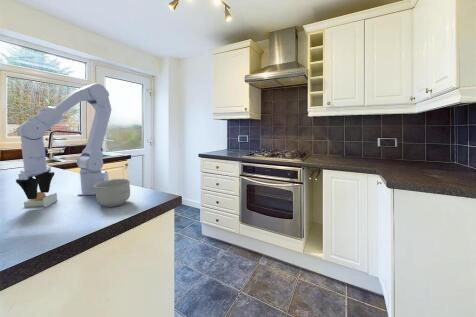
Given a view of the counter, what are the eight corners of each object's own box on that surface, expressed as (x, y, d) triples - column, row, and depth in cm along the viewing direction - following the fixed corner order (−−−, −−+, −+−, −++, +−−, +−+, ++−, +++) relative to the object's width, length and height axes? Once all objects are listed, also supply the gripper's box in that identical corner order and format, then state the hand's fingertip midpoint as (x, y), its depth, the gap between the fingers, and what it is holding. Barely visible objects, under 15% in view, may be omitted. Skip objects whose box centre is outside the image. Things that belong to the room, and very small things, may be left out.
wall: (57, 200, 80) (56, 192, 80) (46, 206, 74) (45, 198, 73) (54, 200, 80) (53, 192, 80) (43, 206, 73) (42, 198, 73)
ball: (48, 200, 79) (47, 190, 79) (42, 203, 75) (41, 193, 75) (36, 201, 78) (35, 191, 78) (30, 204, 74) (29, 193, 74)
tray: (53, 200, 80) (53, 195, 80) (45, 205, 75) (44, 200, 75) (34, 201, 79) (34, 197, 78) (24, 207, 73) (23, 202, 73)
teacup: (127, 207, 74) (126, 184, 72) (90, 210, 70) (88, 186, 69) (134, 195, 87) (133, 176, 86) (103, 197, 84) (102, 177, 83)
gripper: (33, 155, 80) (37, 190, 82) (4, 160, 67) (9, 203, 68) (55, 154, 82) (59, 189, 84) (32, 159, 69) (37, 201, 70)
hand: (38, 195), depth 76 cm, fingers open, 7 cm apart
